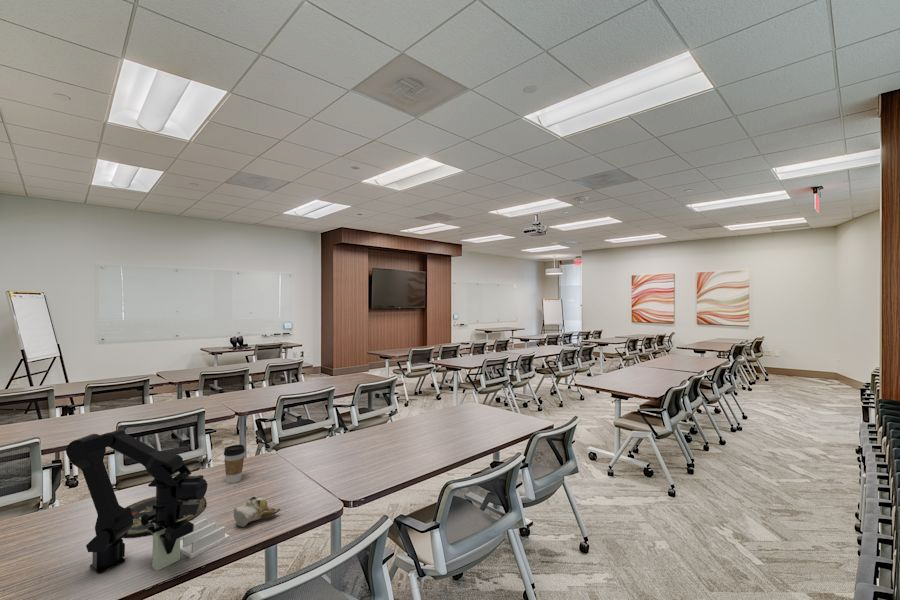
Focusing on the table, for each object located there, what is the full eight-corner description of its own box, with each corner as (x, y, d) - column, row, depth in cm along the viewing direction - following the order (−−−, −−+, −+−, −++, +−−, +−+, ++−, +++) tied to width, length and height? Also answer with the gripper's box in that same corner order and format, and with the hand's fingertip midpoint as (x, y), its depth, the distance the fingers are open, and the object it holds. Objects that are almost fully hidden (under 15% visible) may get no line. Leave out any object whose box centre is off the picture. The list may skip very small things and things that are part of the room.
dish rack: (191, 558, 120) (191, 545, 120) (169, 545, 127) (169, 533, 127) (229, 538, 131) (229, 526, 131) (207, 527, 137) (207, 516, 137)
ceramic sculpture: (226, 499, 140) (266, 486, 152) (224, 524, 139) (264, 509, 151) (242, 508, 134) (282, 493, 146) (240, 534, 133) (280, 517, 145)
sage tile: (157, 571, 114) (158, 536, 115) (152, 567, 116) (153, 533, 116) (179, 559, 120) (180, 526, 120) (174, 556, 121) (175, 523, 121)
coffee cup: (218, 483, 172) (219, 448, 172) (234, 475, 180) (234, 442, 180) (233, 485, 169) (234, 450, 170) (248, 477, 177) (249, 444, 178)
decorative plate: (82, 527, 134) (162, 488, 163) (82, 533, 134) (162, 492, 163) (155, 539, 128) (224, 495, 157) (155, 545, 128) (224, 500, 157)
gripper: (212, 495, 121) (211, 547, 120) (180, 482, 130) (179, 529, 130) (172, 512, 111) (171, 567, 111) (140, 496, 120) (139, 547, 120)
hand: (166, 551), depth 118 cm, fingers closed on sage tile, 3 cm apart
